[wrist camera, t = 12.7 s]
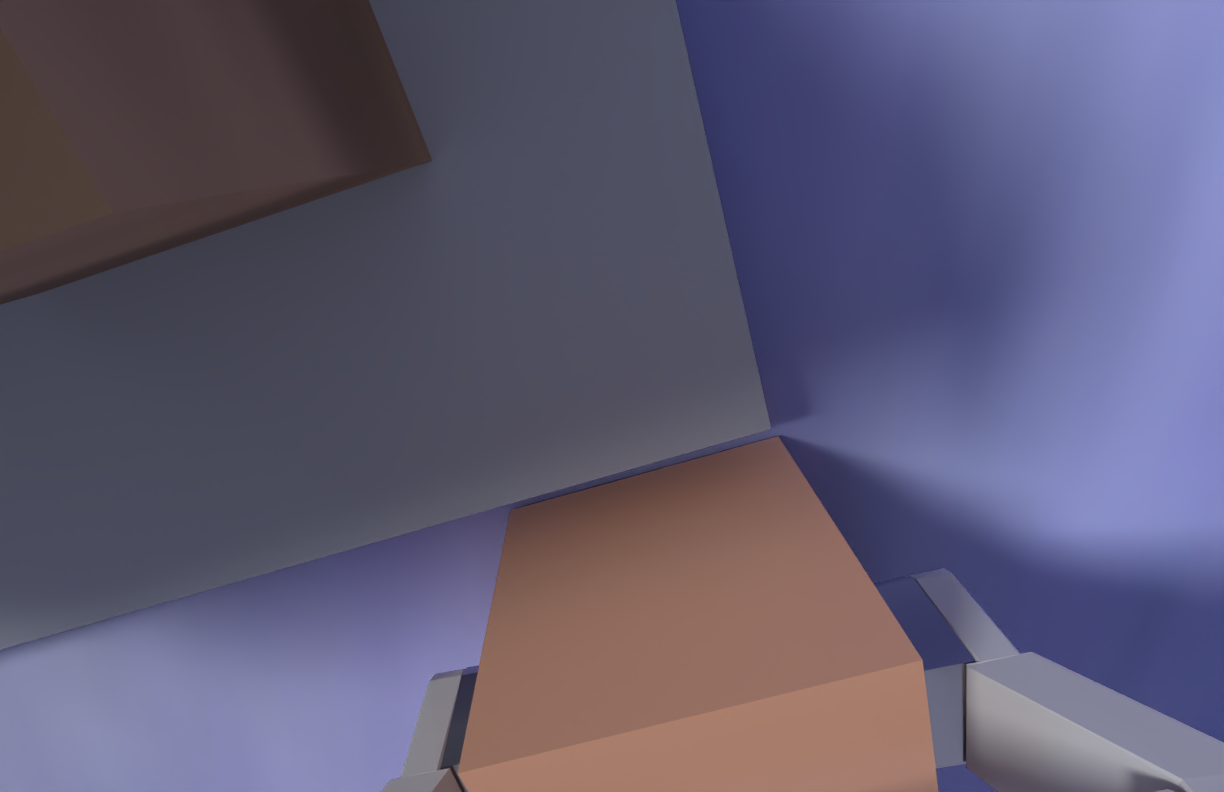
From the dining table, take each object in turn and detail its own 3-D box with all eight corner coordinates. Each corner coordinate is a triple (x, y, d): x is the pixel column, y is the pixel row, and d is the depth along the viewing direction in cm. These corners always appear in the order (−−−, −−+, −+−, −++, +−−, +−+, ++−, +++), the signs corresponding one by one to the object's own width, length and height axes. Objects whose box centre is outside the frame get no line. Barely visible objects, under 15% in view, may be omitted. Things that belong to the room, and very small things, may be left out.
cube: (821, 641, 11) (955, 928, 7) (591, 698, 12) (595, 1002, 8) (778, 435, 10) (922, 660, 6) (510, 510, 10) (457, 774, 6)
